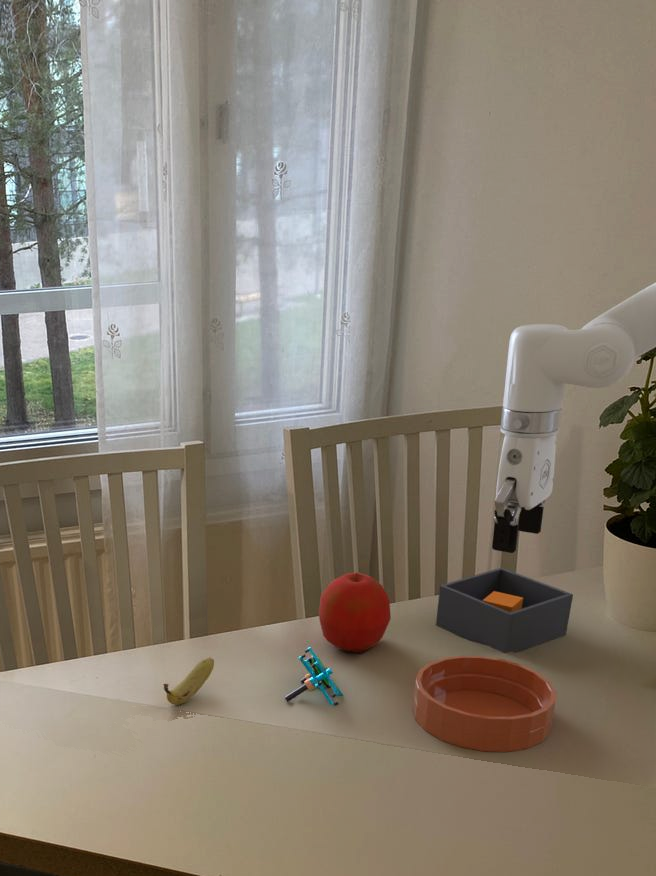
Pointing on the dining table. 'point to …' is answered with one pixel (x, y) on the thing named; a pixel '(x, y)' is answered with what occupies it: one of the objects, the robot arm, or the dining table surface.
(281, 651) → the dining table surface
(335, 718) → the dining table surface
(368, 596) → the apple
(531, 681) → the bowl
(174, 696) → the banana
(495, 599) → the block
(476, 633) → the bin
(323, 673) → the teal plastic assembly
